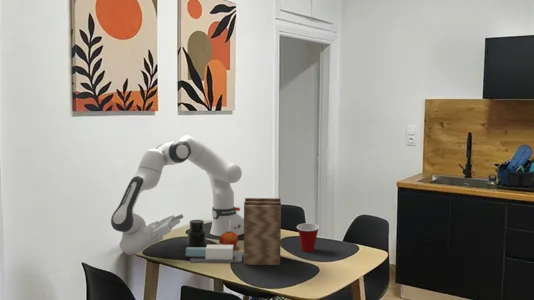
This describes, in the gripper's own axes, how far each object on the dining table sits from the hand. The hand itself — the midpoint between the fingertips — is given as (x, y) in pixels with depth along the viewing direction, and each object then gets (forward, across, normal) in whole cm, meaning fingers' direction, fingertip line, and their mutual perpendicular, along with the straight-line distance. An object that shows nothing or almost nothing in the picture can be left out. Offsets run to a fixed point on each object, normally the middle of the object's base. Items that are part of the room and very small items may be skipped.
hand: (181, 218), depth 227 cm
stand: (+22, 0, +34) cm, 41 cm away
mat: (+5, +2, +24) cm, 25 cm away
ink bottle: (-6, +22, +18) cm, 29 cm away
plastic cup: (+41, +14, +45) cm, 63 cm away
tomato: (+8, +18, +26) cm, 33 cm away
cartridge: (+2, 0, +22) cm, 22 cm away
